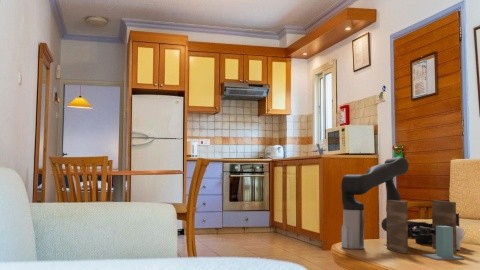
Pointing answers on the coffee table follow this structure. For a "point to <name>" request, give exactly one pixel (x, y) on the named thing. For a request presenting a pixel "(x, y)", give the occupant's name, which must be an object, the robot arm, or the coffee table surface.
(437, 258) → the slate mat
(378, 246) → the coffee table surface
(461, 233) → the lightbulb
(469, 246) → the coffee table surface
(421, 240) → the pen holder
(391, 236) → the wooden divider stand
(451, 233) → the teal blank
